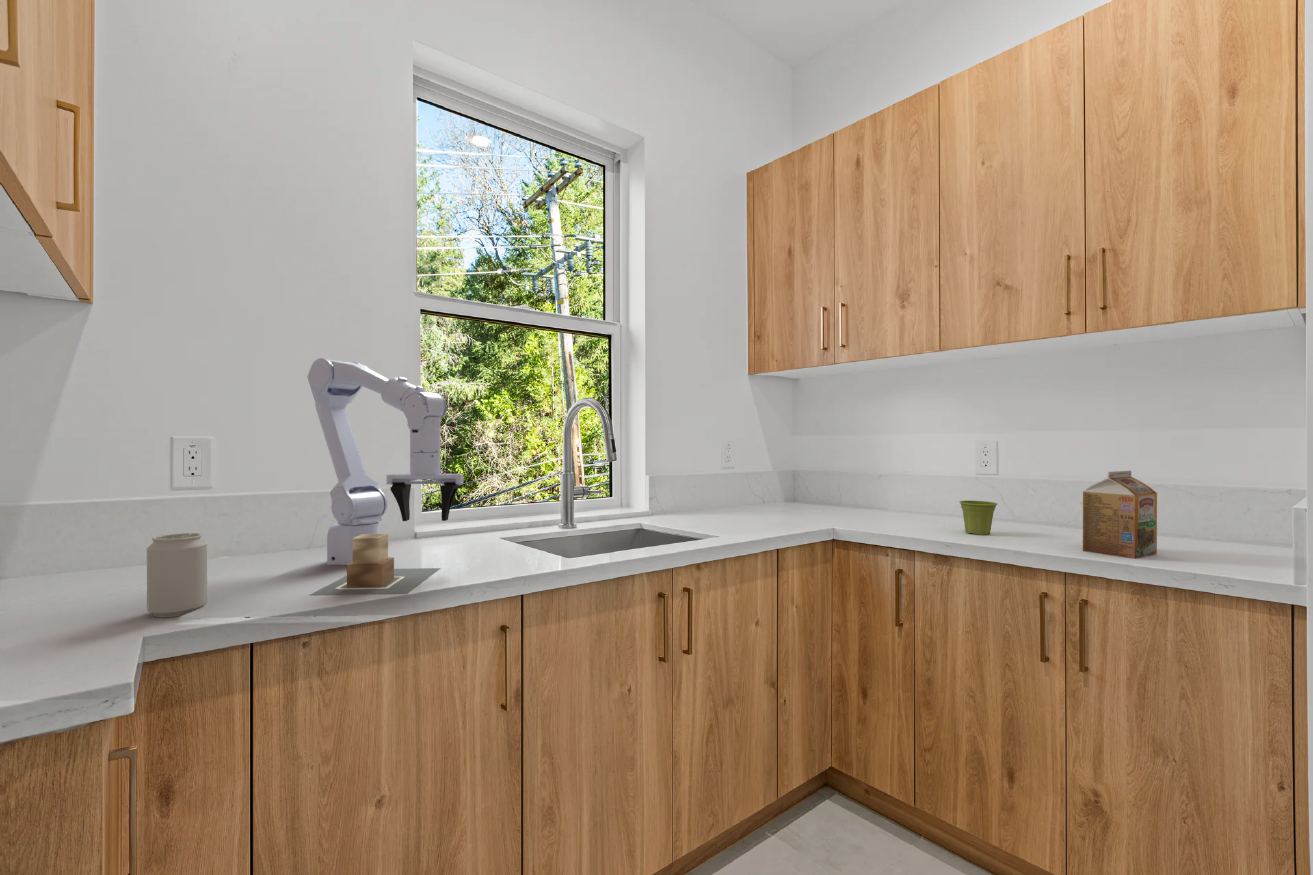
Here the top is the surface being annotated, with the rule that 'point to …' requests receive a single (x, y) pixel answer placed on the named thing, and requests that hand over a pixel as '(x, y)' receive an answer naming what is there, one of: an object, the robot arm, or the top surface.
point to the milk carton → (1120, 517)
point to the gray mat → (399, 585)
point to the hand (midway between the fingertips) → (425, 520)
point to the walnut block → (370, 574)
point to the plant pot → (978, 516)
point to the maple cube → (370, 548)
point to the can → (176, 574)
